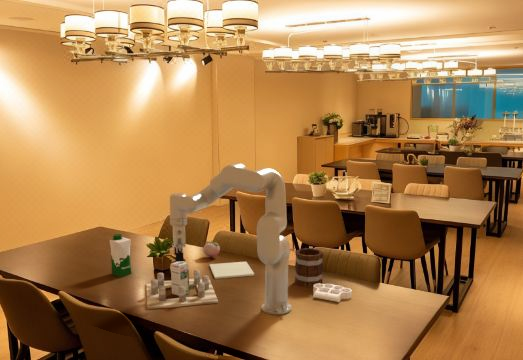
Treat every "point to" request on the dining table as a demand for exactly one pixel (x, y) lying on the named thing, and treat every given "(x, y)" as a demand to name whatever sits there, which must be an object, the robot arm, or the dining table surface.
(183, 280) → the syrup box
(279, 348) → the dining table surface
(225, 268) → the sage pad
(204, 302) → the post board
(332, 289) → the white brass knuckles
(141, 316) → the dining table surface
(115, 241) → the milk carton
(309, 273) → the mug
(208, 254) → the decorative fruit
